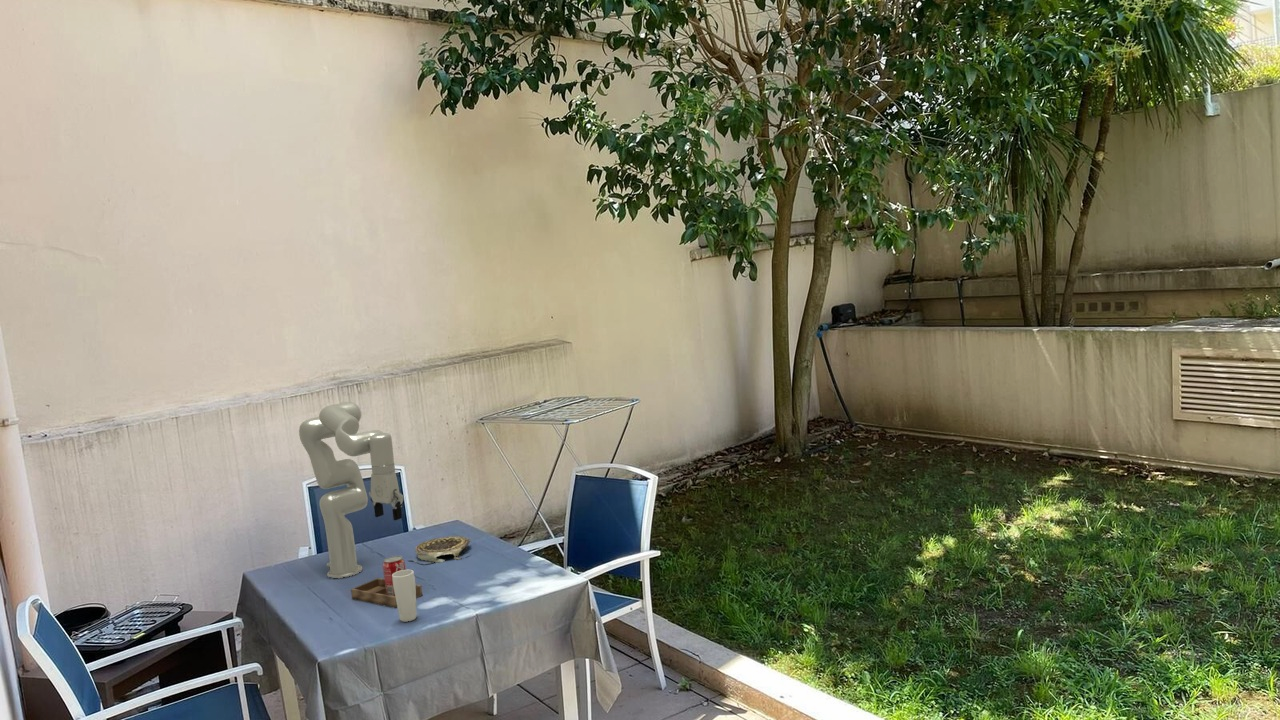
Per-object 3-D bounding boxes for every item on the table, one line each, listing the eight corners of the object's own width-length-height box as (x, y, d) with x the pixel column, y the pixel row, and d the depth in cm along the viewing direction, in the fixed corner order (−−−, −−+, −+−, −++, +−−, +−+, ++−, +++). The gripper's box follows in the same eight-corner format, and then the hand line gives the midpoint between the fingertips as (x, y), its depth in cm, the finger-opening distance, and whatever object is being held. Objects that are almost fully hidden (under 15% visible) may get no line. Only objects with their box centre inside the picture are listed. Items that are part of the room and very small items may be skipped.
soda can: (402, 599, 285) (397, 562, 284) (382, 600, 287) (378, 562, 285) (412, 592, 292) (408, 554, 291) (393, 592, 293) (389, 555, 292)
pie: (395, 557, 339) (394, 545, 339) (456, 540, 357) (455, 528, 357) (431, 570, 318) (429, 557, 318) (493, 551, 337) (492, 538, 336)
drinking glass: (399, 616, 273) (394, 570, 272) (421, 613, 273) (415, 568, 272) (395, 624, 266) (389, 577, 265) (417, 622, 267) (411, 575, 265)
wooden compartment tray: (352, 599, 294) (350, 589, 293) (379, 587, 303) (378, 578, 303) (395, 607, 281) (394, 597, 281) (422, 595, 291) (421, 585, 290)
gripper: (358, 469, 296) (363, 518, 298) (391, 474, 286) (396, 523, 288) (376, 464, 302) (381, 512, 304) (408, 468, 292) (413, 517, 294)
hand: (388, 517), depth 296 cm, fingers open, 9 cm apart
